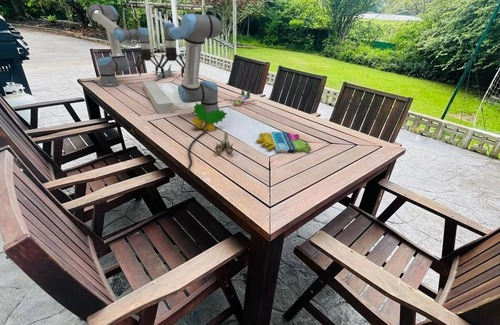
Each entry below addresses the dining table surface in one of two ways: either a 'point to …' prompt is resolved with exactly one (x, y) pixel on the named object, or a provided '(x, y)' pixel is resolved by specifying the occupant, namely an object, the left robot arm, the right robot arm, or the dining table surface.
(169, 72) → the airplane
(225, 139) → the jawbone
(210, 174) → the dining table surface
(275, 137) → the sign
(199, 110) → the ornament
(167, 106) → the slab
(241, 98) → the toy
